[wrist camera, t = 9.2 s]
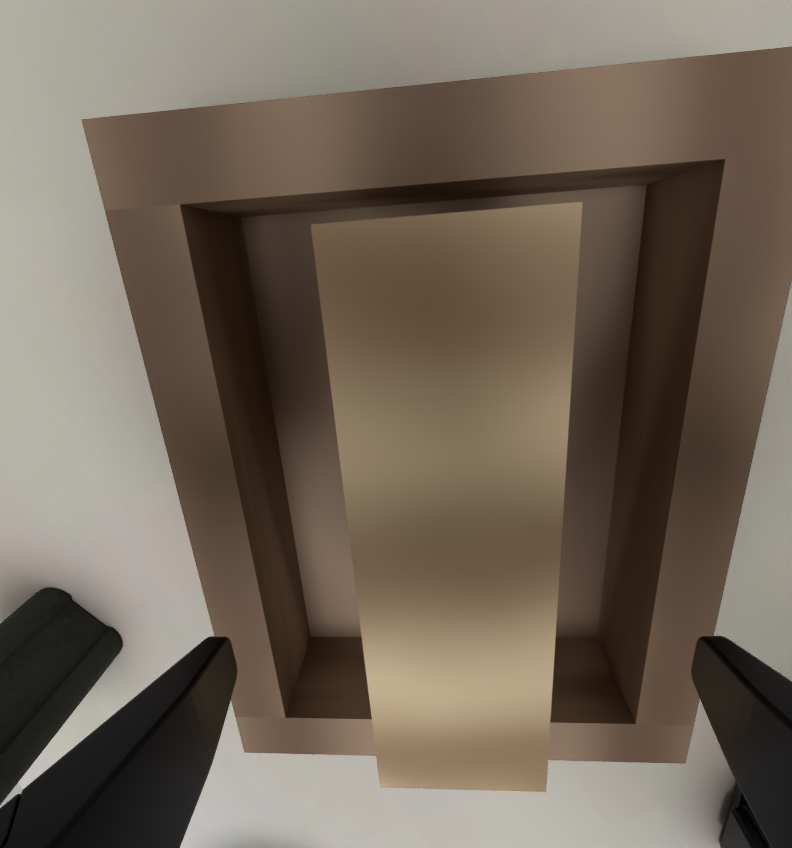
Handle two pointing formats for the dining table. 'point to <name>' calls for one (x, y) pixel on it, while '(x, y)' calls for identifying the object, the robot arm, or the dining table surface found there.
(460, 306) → the light wood rectangular block
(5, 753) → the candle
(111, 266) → the dining table surface
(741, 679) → the robot arm
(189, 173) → the peg frame
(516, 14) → the dining table surface
